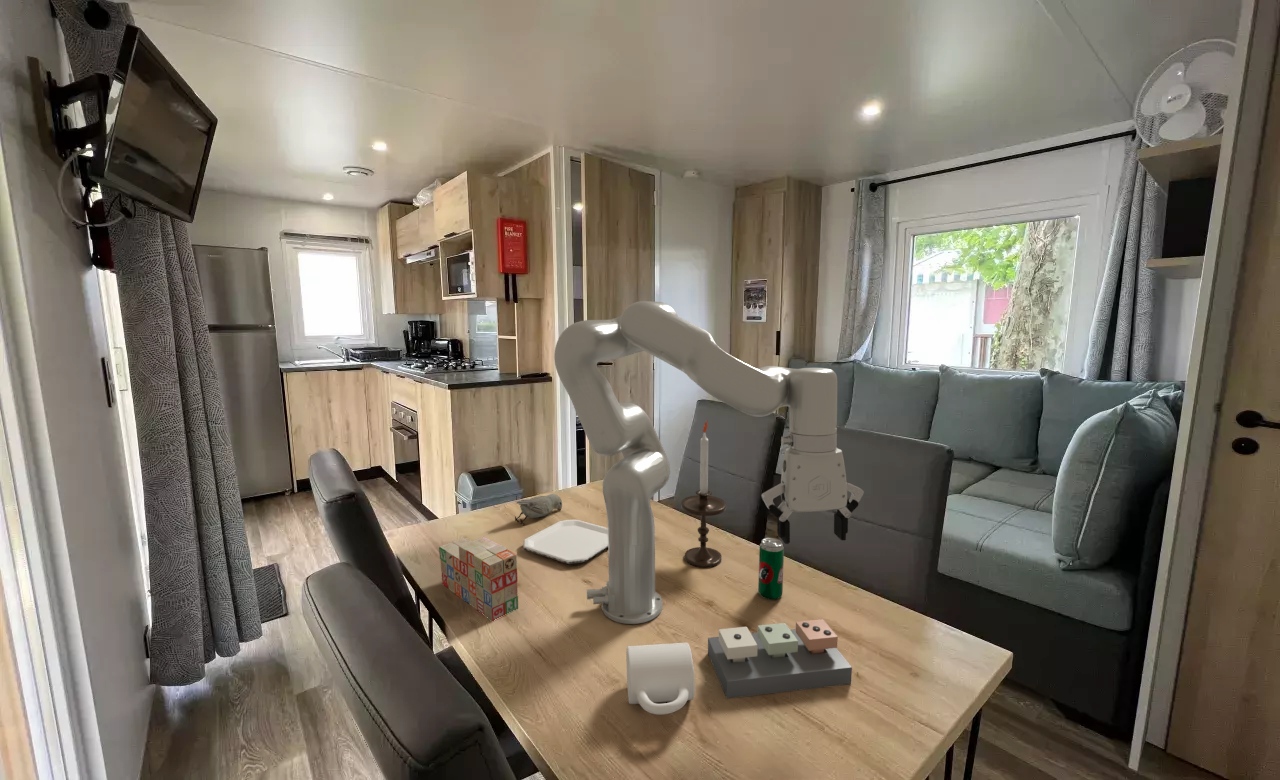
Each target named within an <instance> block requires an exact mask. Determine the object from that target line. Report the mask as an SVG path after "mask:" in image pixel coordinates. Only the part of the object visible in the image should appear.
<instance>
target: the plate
mask: <svg viewBox="0 0 1280 780" xmlns="http://www.w3.org/2000/svg"><path fill="white" fill-rule="evenodd" d="M604 549H605V550H606V549H608V527H606V526H602V525H598V524H594V523H591V522H586V521H583V520H579V519H576V518H575V519H564V520H559V521H558V522H555V523H553V524H551V525H550V526H548V527H546V528H543V529H542V530H540V531H538V532H536V533H534V534H532V535H531V536H528V537H526V538H525V539H524V540H523V550H526V551H529V552H531V553H533V554H537V555H540V556H543V557H545V558H548V559H552V560H555V561H557V562H561V563H563V564H567V565H573V564H581V563H585V562H587V561H588V560H589V559H591V558H594V556H596V555H597V554H599V553H601V552H602V551H603V550H604Z"/></svg>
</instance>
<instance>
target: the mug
mask: <svg viewBox="0 0 1280 780" xmlns="http://www.w3.org/2000/svg"><path fill="white" fill-rule="evenodd" d="M625 653H626V660H625V661H626V683H627V684H626V686H627V699H628V704H630V705H636V704H638V705H640V707H641V708H642V709H643V710H644V711H646V712H647V713H649V714H653V715H668V714H672V713H674V712H677V711H679V710H681V709H682V708H683V707H684V706H685V705H686V704H687V701H693V700H694V698H695V691H696V690H695V689H696V685H695V684H696V682H695V681H696V680H695V679H696V678H695V668H694V666H695V665H694V660H693V654H692V649H691V646H690V644H689V642H676V643H673V642H672V643H661V644H660V643H658V644H645V645H644V644H643V645H627V646H626V652H625ZM666 702H667V703H666Z"/></svg>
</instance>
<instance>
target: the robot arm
mask: <svg viewBox="0 0 1280 780" xmlns="http://www.w3.org/2000/svg"><path fill="white" fill-rule="evenodd" d="M640 352H646V353H648V354H650V355H651V356H653V357H655V358H657V359H659V360H661V361H663V362H664V363H666V364H669V365H670V366H672V367H674V368H676V369H678V370H679V371H681V372H683V373H684V374H686V375H687V377H688V378H689V379H690V380H691V381H693V382H694V383H695V384H696V385H697V386H698V387H700V388H701V389H702V390H703V391H704V392H706V393H708V394H709V395H711V396H712V397H714V398H715V399H717V400H718V401H721V402H722V403H724V404H726V405H727V406H730V407H732V408H733V409H735V410H737V411H739V412H741V413H743V414H746V415H748V416H751V417H759V418H761V417H767V416H769V415H771V414H773V413H775V412H776V411H777V410H778V409H780V408H782V407H788V408H789V413H788V414H789V417H788V418H789V421H788V422H789V431H787V435H785V436H781V439H780V442H781V445H786V446H788V448H785V452H784V456H783V461H782V467H781V474H780V475H781V477H780V483H779V484H777V485H775V486H774V487H773V486H772V487H771V488H769V489H767V490H766V491H764V492H762V493H761V499H762V501H763V502H764V504H765V506H766V508H767V509H768V510H769V511H770V512H771V513H772V515H773V516H775V517H776V523H777V525H776V531H777V533H776V534H777V536H778V537H779V539H781V541H782V543H784V545H789V544H790V541H791V538H790V537H791V535H790V534H791V530H790V529H791V524H790V521H789V520H788V518H789V517H790V516H791V515H792V513H793V512H795V513H809V512H826V511H827V512H828V511H834V513H833V533H834V535H835V536H836V537H837V538H838V539H839V540H841V541H846V540H847V534H848V532H849V529H848V528H849V526H848V525H849V518H850V517H851V516H852V513H853V512H854V511H855V509H857V508H858V506H859V502H861V499H862V498H863V496H864V493H865V491H864V490H863V489H862V488H860V487H859V486H856V485H854V484H852V483H849V482H847V474H846V473H847V472H846V466H845V461H844V459H845V458H844V455H843V450H842V449H840V448H838V447H837V445H838V444H837V443H838V441H837V439H838V438H837V437H838V432H837V431H838V422H837V421H838V376H837V373H836V372H835V371H834V370H833V369H831V368H826V367H825V368H824V367H802V368H790V367H782V366H776V365H766V366H762V367H760V368H759V367H758V368H756V367H754V366H751V365H750V364H748V363H745V362H743V361H742V360H740V359H738V358H736V357H735V356H732V354H729V353H727V352H726V351H725V350H723V349H722V348H721V347H720V346H719V345H718V344H717V343H716V342H715V340H714V338H713V336H712V334H711V333H710V332H708V331H707V330H706V329H704V328H702V327H700V326H698V325H696V324H694V323H692V322H690V321H688V320H687V319H684V318H682V317H680V316H678V314H677V312H676V310H674V308H673V307H672V306H671V305H669V304H667V303H664V302H661V301H649V300H640V301H636V302H633V303H631V304H629V305H628V306H627V307H626V308H625V309H624V310H623V312H622V313H621V315H620V316H618V317H615V318H611V319H585V320H580V321H577V322H574V323H572V324H569V325H568V326H567V327H566V328H565V329H564V330H563V331H562V332H561V334H560V336H559V337H558V339H557V341H556V343H555V347H554V356H553V357H554V365H555V369H556V372H557V375H558V377H559V380H560V381H561V383H562V386H563V387H564V389H565V391H566V393H567V395H568V396H569V398H570V401H571V404H572V406H573V409H574V411H575V413H576V415H577V418H578V419H579V423H580V424H581V427H582V429H583V430H584V433H585V435H586V438H587V440H588V442H589V444H590V445H591V448H592V449H593V450H594V452H595V453H597V455H599V456H602V457H612V456H615V455H619V454H620V453H621V454H622V456H623V458H622V459H620V460H618V461H617V462H615V463H614V464H613V465H612V466H611V467H610V468H608V470H607V472H606V473H605V475H604V477H603V481H602V492H603V493H602V494H603V500H604V504H605V509H606V510H605V511H606V517H607V519H606V520H607V528H608V547H607V549H608V556H607V557H608V580H606V582H605V583H606V586H602V587H601V588H589V589H586V599H587V600H593V603H592V604H593V605H600V604H601V610H602V612H603V614H604V615H605V616H606V617H607V619H609V620H612V621H614V622H617V623H620V624H625V625H626V624H627V625H637V624H643V623H647V622H650V621H651V620H653V619H655V618H657V617H658V616H659V615H660V614H661V612H662V611H663V605H664V604H663V599H662V596H661V595H660V594H659V593H658V592H657V591H656V535H655V534H656V532H655V531H656V529H655V528H656V526H655V517H654V512H653V510H652V505H651V499H652V498H653V496H655V494H657V493H658V492H659V491H660V490H662V489H663V488H664V487H665V486H666V484H667V483H668V482H669V480H670V476H671V467H670V461H669V459H668V456H667V453H666V452H665V449H664V447H663V444H662V442H661V440H660V438H659V436H658V434H657V431H656V430H655V429H656V428H655V427H654V424H653V422H652V420H651V418H650V417H649V415H648V414H647V413H646V411H645V410H644V409H643V408H641V406H639V405H637V404H635V403H633V402H619V400H618V399H617V397H616V394H615V393H614V390H613V388H612V385H611V384H610V382H609V380H608V379H607V377H606V376H605V375H604V374H603V373H602V372H601V370H600V369H599V368H598V363H603V362H606V361H608V362H609V361H614V360H618V359H621V358H625V357H628V356H631V355H634V354H637V353H640ZM848 492H849V493H850V497H848ZM779 496H780V500H781V502H780V503H779V505H778V506H777V505H775V503H774V499H775V498H777V497H779Z"/></svg>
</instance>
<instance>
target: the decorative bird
mask: <svg viewBox="0 0 1280 780" xmlns="http://www.w3.org/2000/svg"><path fill="white" fill-rule="evenodd" d="M514 502H515V503H516V504H518V505H519V506H520V510H521V512H520V513H519V515H518V516H515V515H514V522H517V523H520V524H521V525H522V527H523V526H524V527H525V526H526V524H525V523H524V522H525V520H526V519H527V518H528V519H536V518H537V519H538V518H540V517H541V518H542V517H546V516H547V515H548V514H550V513H551V512H553V510H558V511H562V507H563V502H562V498H561V497H560V495H558V494H556V493H551V494H548V495H539V496H535V497H531V498H527V499H520V500H518V501H517V500H516V501H514ZM521 515H524V516H525V518H524V519H520V517H521ZM518 519H520V521H519V520H518Z"/></svg>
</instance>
